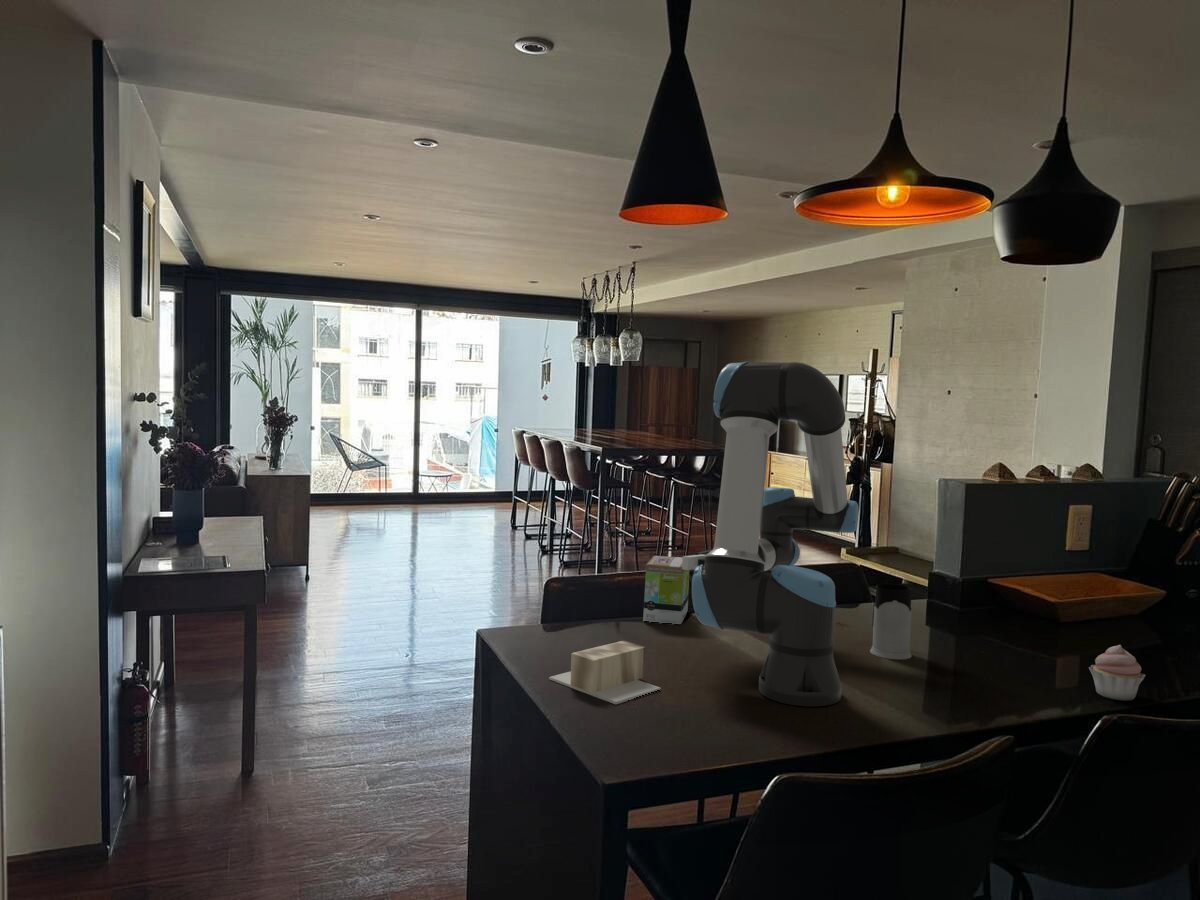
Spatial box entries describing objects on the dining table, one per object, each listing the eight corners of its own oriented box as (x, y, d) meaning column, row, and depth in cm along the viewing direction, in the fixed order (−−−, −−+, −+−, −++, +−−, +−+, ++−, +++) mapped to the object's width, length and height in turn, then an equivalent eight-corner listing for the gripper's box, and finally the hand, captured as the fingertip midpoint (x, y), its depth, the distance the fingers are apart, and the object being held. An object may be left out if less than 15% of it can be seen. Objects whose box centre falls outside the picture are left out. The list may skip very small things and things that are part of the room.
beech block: (645, 647, 162) (593, 660, 153) (644, 677, 163) (592, 693, 153) (623, 640, 167) (571, 653, 157) (622, 670, 167) (570, 684, 157)
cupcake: (1132, 707, 155) (1135, 654, 155) (1079, 693, 163) (1081, 642, 162) (1153, 698, 161) (1156, 647, 160) (1100, 685, 168) (1103, 635, 168)
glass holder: (871, 657, 183) (874, 589, 182) (866, 640, 197) (869, 577, 196) (914, 661, 181) (917, 592, 180) (906, 644, 195) (909, 580, 194)
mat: (660, 690, 157) (660, 687, 157) (615, 704, 149) (615, 701, 149) (593, 667, 170) (594, 665, 170) (549, 679, 161) (549, 676, 161)
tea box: (682, 626, 206) (684, 566, 205) (642, 622, 208) (644, 563, 207) (688, 612, 221) (690, 556, 220) (650, 609, 223) (652, 554, 222)
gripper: (774, 576, 187) (708, 585, 170) (727, 568, 196) (660, 576, 180) (776, 543, 187) (710, 549, 170) (728, 536, 196) (662, 541, 180)
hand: (685, 563), depth 175 cm, fingers closed
